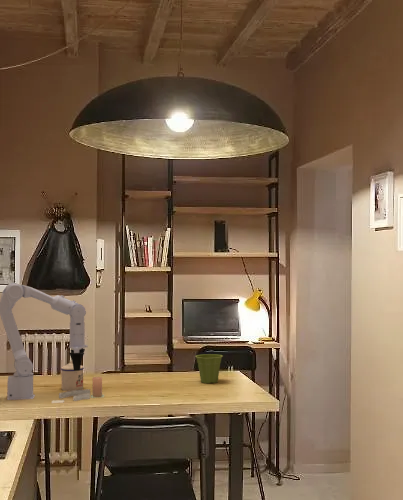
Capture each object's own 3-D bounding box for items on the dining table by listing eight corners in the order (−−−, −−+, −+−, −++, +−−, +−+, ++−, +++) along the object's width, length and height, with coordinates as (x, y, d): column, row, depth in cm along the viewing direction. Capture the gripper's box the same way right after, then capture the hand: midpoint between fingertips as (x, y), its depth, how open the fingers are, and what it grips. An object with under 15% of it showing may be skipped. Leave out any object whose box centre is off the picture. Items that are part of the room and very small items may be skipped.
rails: (57, 402, 237) (57, 396, 237) (59, 395, 249) (59, 390, 249) (89, 400, 239) (89, 395, 239) (90, 394, 251) (90, 389, 251)
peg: (92, 397, 245) (92, 378, 245) (92, 395, 248) (92, 377, 248) (102, 396, 245) (102, 378, 245) (102, 394, 249) (102, 376, 249)
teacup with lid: (80, 391, 258) (80, 362, 258) (58, 391, 259) (58, 362, 259) (88, 386, 270) (88, 358, 270) (66, 385, 271) (66, 357, 271)
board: (50, 405, 234) (50, 403, 234) (53, 396, 249) (53, 395, 249) (105, 402, 237) (105, 401, 237) (105, 394, 252) (105, 393, 252)
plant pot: (223, 379, 282) (223, 353, 283) (221, 384, 271) (221, 358, 271) (196, 379, 284) (196, 353, 284) (193, 384, 272) (193, 357, 272)
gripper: (87, 336, 247) (87, 371, 247) (87, 332, 261) (88, 365, 261) (68, 336, 246) (68, 372, 245) (70, 332, 260) (70, 366, 260)
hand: (77, 369), depth 253 cm, fingers open, 7 cm apart
